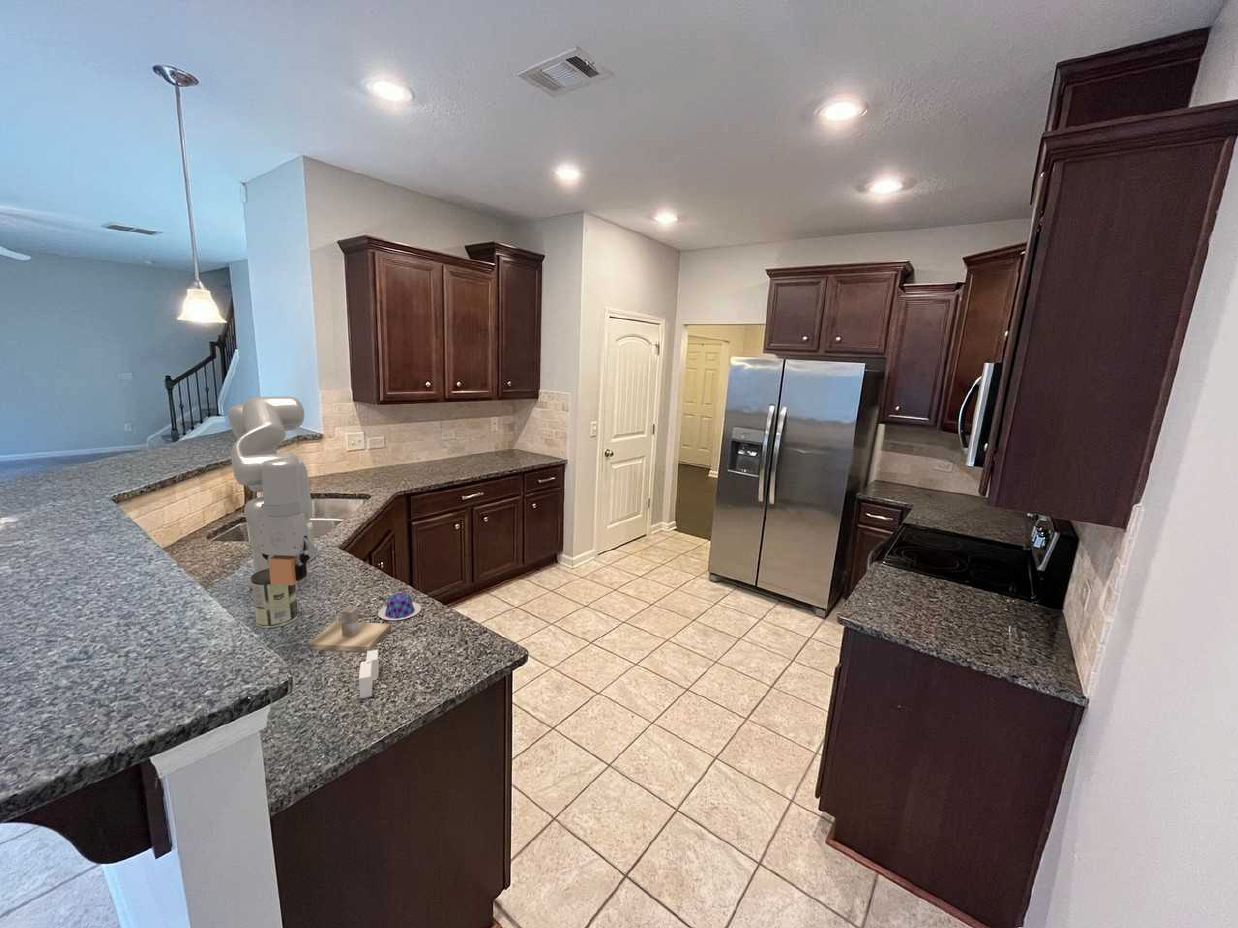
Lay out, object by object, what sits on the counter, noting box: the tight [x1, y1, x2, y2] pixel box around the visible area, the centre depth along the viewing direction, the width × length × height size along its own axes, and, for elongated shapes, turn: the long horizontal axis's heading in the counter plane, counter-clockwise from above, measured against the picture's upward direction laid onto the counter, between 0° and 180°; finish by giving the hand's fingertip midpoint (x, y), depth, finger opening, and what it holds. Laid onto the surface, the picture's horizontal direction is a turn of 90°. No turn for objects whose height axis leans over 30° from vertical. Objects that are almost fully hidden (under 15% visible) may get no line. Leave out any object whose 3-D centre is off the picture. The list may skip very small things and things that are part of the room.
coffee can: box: [250, 569, 299, 629], centre depth 144 cm, size 10×10×14 cm
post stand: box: [307, 606, 392, 653], centre depth 136 cm, size 16×12×8 cm
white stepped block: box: [358, 649, 380, 699], centre depth 119 cm, size 15×11×6 cm
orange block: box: [268, 555, 308, 585], centre depth 128 cm, size 6×6×7 cm
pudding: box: [377, 592, 422, 621], centre depth 152 cm, size 12×12×5 cm
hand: (289, 577), depth 128 cm, fingers closed on orange block, 5 cm apart
